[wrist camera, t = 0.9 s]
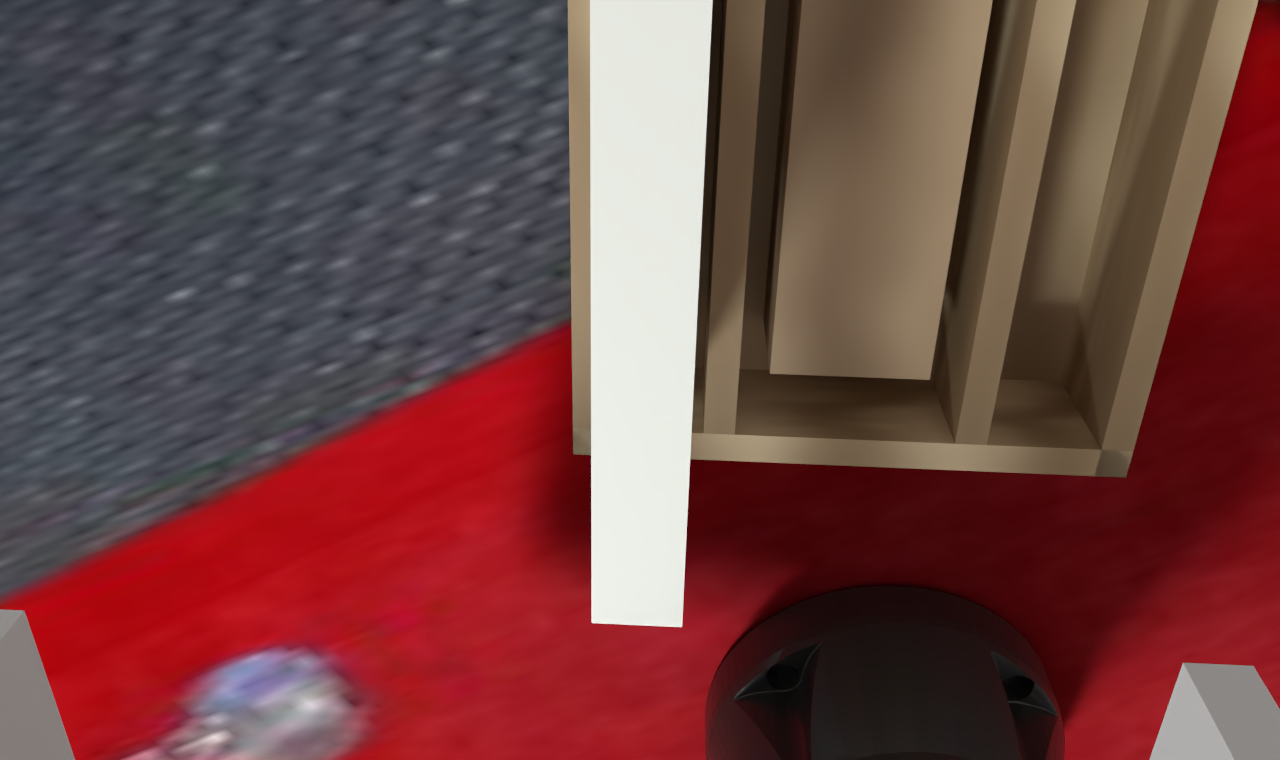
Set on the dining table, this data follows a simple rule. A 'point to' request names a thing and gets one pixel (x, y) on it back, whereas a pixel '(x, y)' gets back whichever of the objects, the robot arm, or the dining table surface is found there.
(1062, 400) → the rack
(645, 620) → the tall sheet
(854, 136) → the upper offcut
